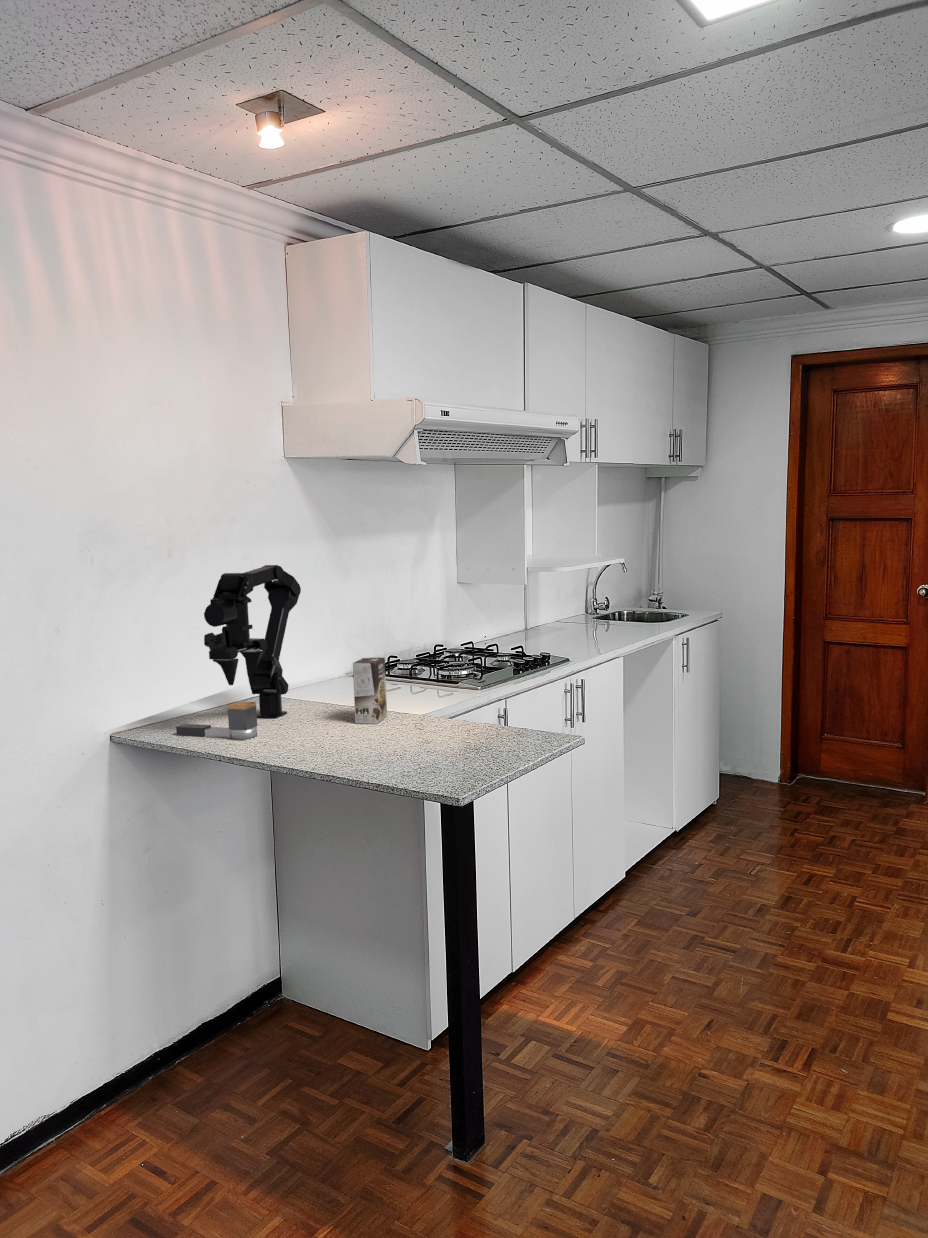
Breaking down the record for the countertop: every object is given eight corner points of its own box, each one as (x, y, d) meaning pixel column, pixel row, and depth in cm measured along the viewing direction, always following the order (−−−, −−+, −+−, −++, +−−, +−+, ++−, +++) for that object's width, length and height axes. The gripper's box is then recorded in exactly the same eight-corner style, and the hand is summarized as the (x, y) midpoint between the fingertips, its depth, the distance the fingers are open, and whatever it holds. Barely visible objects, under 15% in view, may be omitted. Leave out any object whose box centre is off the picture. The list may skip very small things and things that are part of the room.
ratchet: (188, 730, 239) (186, 710, 238) (262, 734, 232) (260, 713, 231) (173, 736, 233) (171, 715, 232) (248, 741, 226) (247, 719, 225)
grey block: (239, 725, 233) (238, 701, 232) (257, 725, 231) (256, 702, 230) (228, 729, 228) (227, 705, 227) (246, 730, 226) (245, 706, 226)
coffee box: (378, 724, 239) (375, 662, 237) (354, 724, 240) (351, 662, 239) (388, 716, 248) (385, 656, 246) (365, 716, 249) (362, 656, 247)
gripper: (230, 617, 249) (233, 674, 250) (188, 626, 231) (192, 687, 233) (266, 617, 245) (270, 675, 247) (227, 626, 228) (231, 689, 229)
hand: (240, 681), depth 239 cm, fingers open, 9 cm apart
